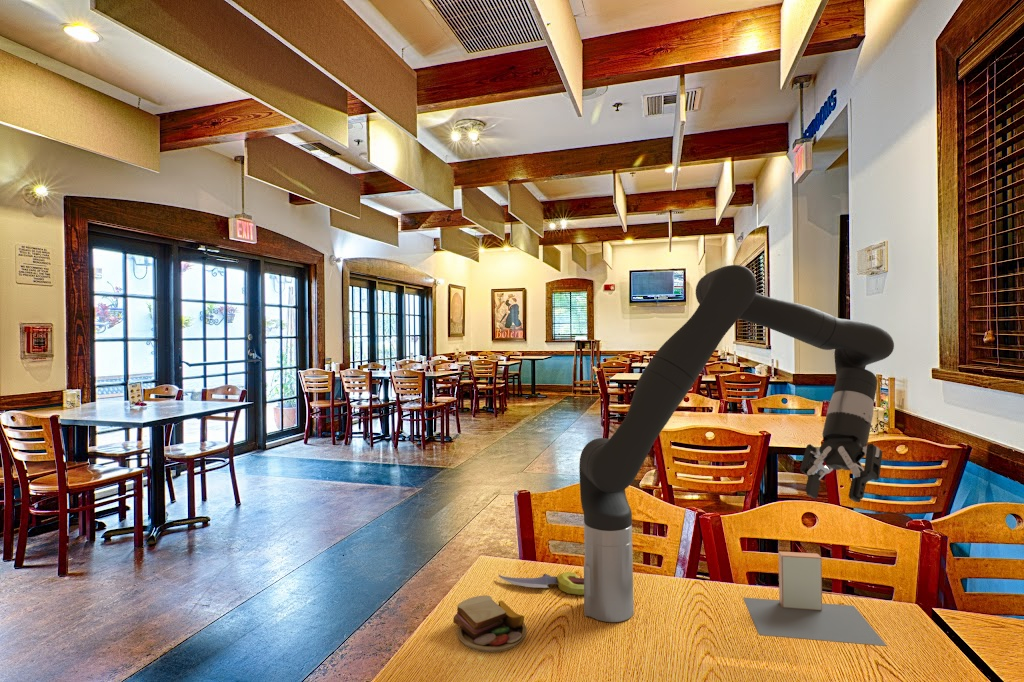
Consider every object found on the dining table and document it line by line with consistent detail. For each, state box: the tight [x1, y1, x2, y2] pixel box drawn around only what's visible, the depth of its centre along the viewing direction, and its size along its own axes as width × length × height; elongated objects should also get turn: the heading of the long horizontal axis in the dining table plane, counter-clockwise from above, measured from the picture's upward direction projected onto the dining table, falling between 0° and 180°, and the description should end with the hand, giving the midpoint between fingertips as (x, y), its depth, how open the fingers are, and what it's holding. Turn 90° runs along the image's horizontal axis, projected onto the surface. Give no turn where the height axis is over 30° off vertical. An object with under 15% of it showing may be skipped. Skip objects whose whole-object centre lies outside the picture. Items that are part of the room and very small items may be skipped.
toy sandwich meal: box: [452, 595, 528, 653], centre depth 100 cm, size 12×14×5 cm
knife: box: [498, 571, 584, 596], centre depth 119 cm, size 8×3×25 cm
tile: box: [778, 550, 823, 610], centre depth 106 cm, size 7×2×10 cm, turn 78°
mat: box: [742, 597, 888, 647], centre depth 101 cm, size 20×14×1 cm
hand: (832, 498), depth 102 cm, fingers open, 8 cm apart
